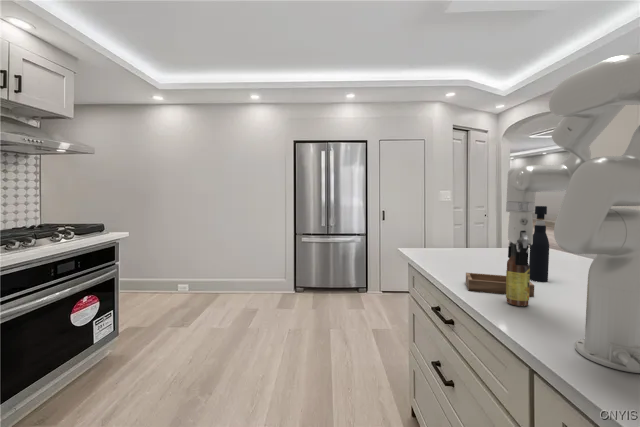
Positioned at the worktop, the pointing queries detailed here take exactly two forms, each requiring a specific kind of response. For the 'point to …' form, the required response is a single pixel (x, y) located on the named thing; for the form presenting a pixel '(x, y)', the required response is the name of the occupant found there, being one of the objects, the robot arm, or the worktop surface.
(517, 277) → the sauce bottle
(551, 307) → the worktop surface
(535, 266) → the wine bottle
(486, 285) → the bottle tray
